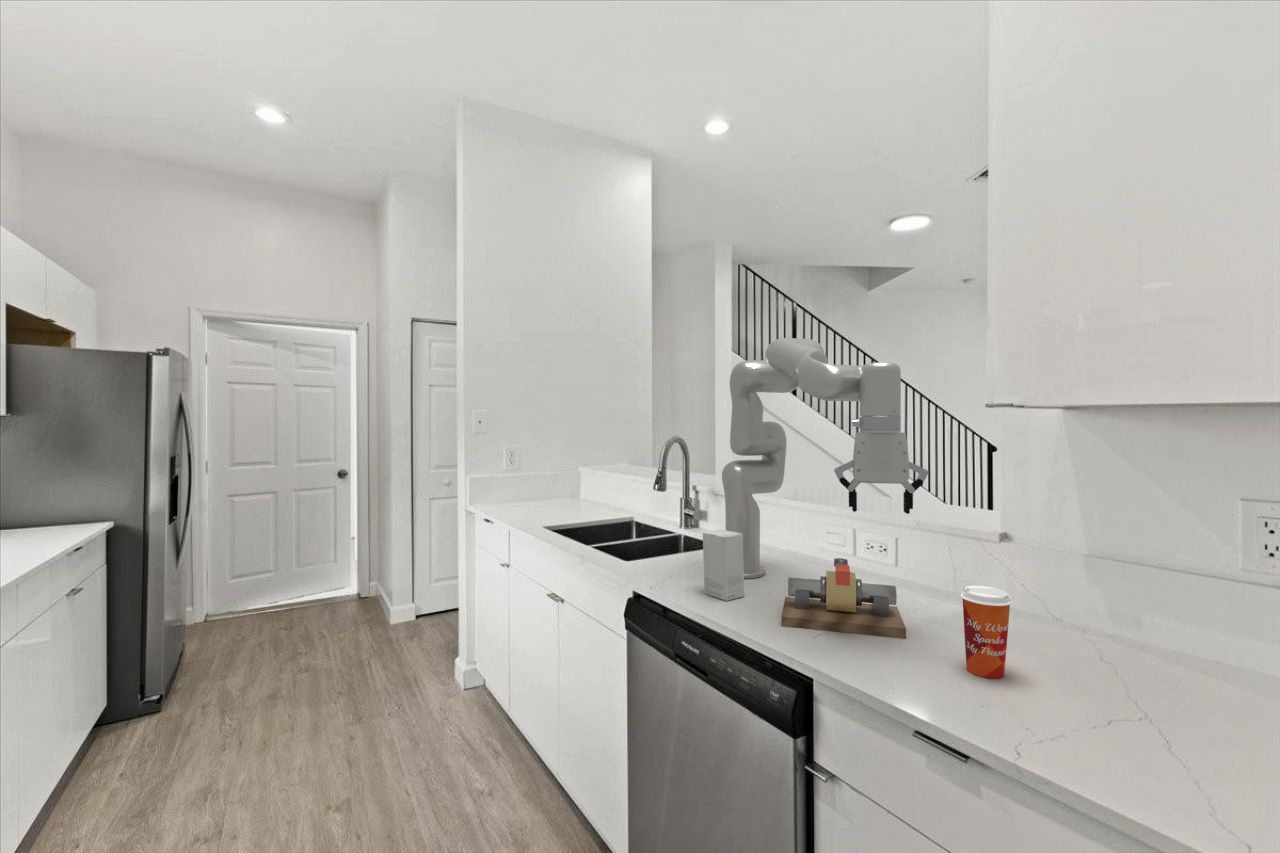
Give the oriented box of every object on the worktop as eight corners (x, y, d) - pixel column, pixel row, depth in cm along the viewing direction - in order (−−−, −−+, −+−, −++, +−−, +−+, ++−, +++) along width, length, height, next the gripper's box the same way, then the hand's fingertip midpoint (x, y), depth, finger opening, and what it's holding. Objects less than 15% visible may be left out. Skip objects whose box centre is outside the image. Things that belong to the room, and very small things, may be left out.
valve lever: (833, 567, 130) (833, 554, 130) (847, 568, 129) (847, 555, 129) (835, 584, 117) (835, 570, 117) (850, 586, 116) (850, 571, 116)
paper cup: (963, 677, 100) (964, 595, 99) (956, 659, 107) (957, 582, 106) (1017, 684, 97) (1018, 600, 97) (1006, 666, 104) (1007, 587, 104)
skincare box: (745, 597, 143) (745, 533, 143) (724, 602, 140) (725, 536, 139) (721, 589, 150) (721, 528, 150) (701, 593, 147) (701, 530, 146)
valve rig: (781, 625, 124) (781, 573, 124) (785, 605, 137) (785, 558, 137) (905, 638, 117) (906, 583, 117) (896, 615, 130) (897, 565, 130)
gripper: (834, 425, 116) (834, 512, 116) (931, 425, 111) (931, 516, 111) (833, 425, 123) (833, 507, 123) (924, 425, 118) (924, 510, 118)
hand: (880, 511), depth 117 cm, fingers open, 9 cm apart
